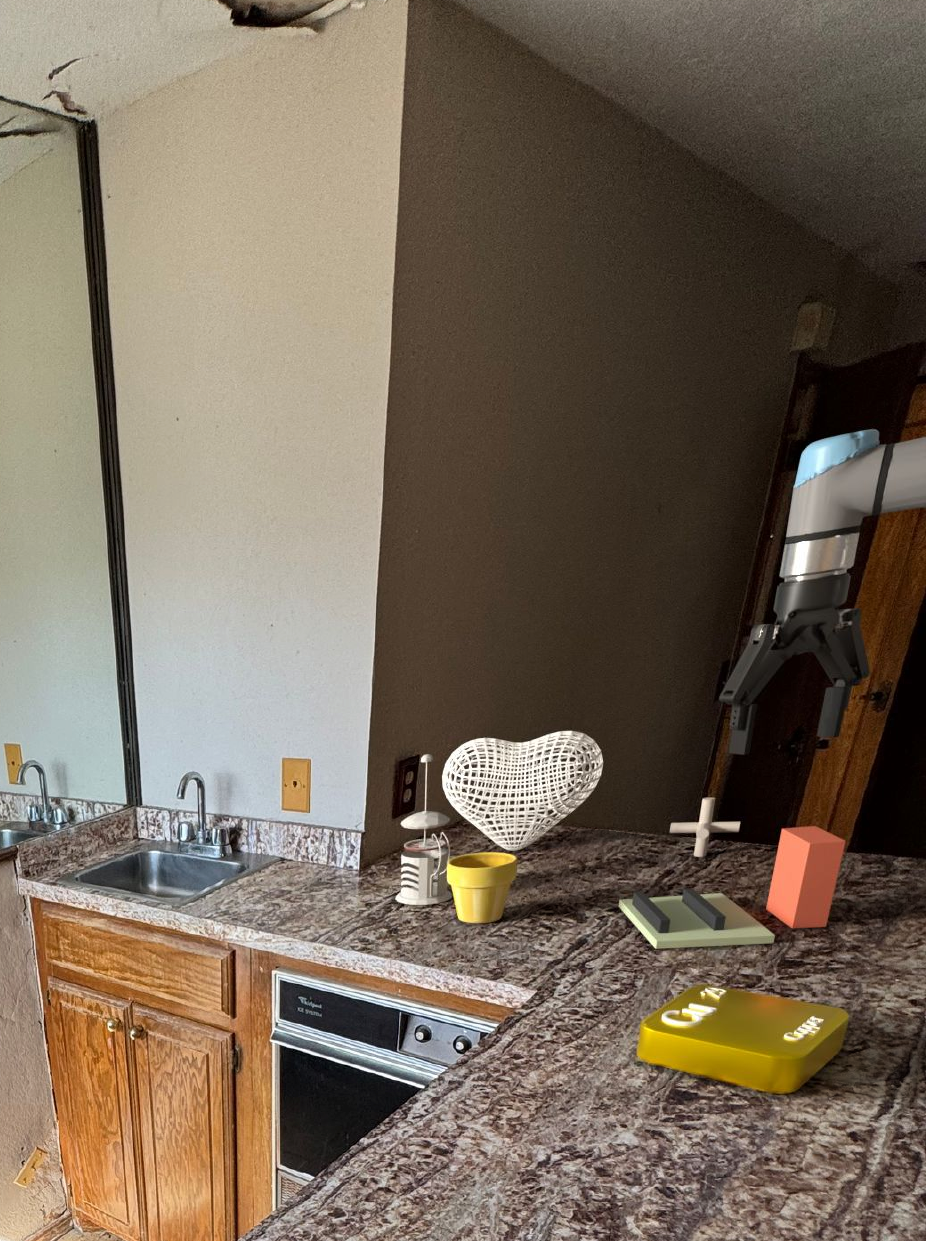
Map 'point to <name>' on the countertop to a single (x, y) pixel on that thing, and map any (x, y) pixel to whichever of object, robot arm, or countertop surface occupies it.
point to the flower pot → (481, 884)
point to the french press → (425, 859)
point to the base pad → (693, 921)
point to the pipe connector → (704, 827)
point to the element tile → (743, 1037)
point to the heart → (530, 745)
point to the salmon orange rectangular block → (805, 876)
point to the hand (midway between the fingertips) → (783, 745)
